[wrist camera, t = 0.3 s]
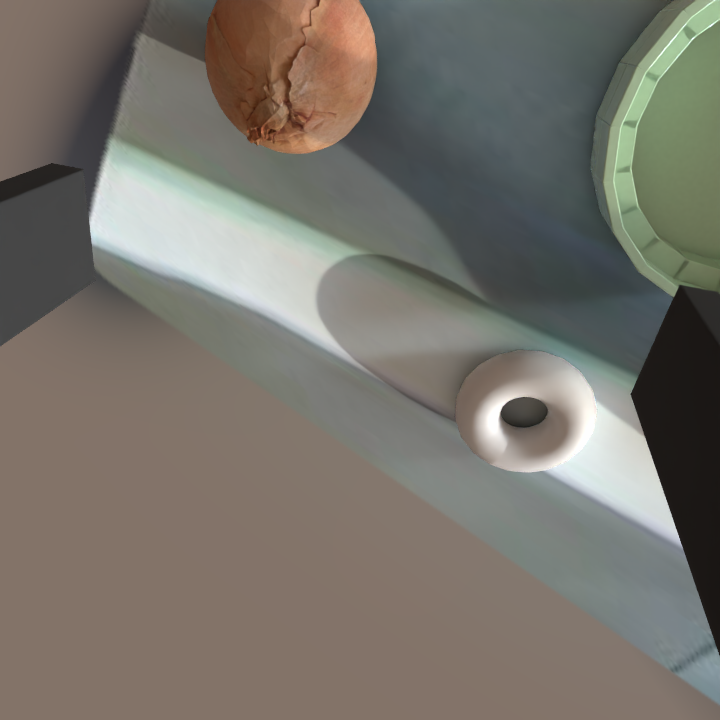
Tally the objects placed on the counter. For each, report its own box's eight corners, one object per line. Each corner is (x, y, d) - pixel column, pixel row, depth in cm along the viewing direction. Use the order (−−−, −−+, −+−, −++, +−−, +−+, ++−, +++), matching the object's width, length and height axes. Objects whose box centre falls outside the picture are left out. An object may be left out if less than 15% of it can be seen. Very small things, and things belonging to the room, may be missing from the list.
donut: (611, 356, 43) (471, 328, 43) (622, 381, 40) (471, 351, 40) (568, 465, 48) (442, 439, 48) (574, 494, 45) (441, 466, 45)
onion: (338, 116, 41) (311, 218, 36) (208, 36, 38) (155, 135, 32) (420, -6, 34) (402, 97, 28) (269, -118, 31) (214, -26, 25)
